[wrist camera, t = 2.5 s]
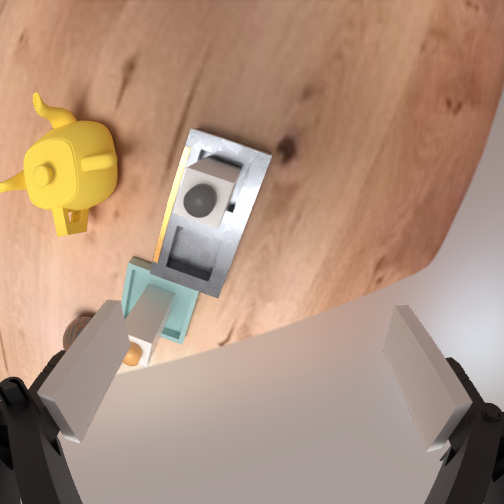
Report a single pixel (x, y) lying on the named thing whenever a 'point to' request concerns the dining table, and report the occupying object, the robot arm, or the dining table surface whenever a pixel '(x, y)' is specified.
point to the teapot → (67, 168)
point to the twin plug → (207, 190)
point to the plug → (147, 324)
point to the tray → (141, 277)
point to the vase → (74, 330)
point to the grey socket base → (201, 235)
